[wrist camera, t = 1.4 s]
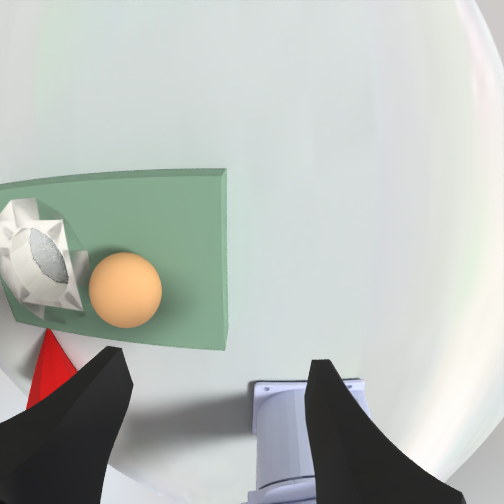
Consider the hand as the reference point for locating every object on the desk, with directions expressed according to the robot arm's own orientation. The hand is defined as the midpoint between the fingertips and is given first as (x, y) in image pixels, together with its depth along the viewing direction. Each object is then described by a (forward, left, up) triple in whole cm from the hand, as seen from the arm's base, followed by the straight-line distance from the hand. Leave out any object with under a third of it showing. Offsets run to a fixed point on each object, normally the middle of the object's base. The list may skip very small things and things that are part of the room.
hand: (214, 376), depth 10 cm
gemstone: (+18, +13, -10) cm, 24 cm away
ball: (+6, 0, -5) cm, 8 cm away
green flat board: (+10, 0, -10) cm, 14 cm away
